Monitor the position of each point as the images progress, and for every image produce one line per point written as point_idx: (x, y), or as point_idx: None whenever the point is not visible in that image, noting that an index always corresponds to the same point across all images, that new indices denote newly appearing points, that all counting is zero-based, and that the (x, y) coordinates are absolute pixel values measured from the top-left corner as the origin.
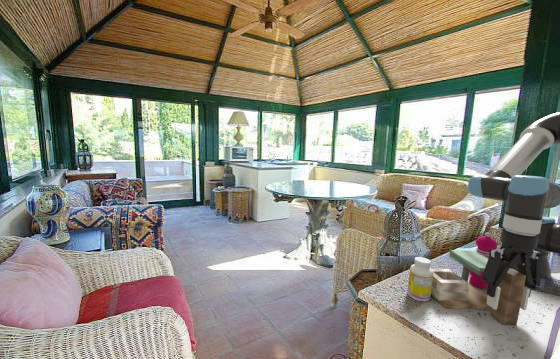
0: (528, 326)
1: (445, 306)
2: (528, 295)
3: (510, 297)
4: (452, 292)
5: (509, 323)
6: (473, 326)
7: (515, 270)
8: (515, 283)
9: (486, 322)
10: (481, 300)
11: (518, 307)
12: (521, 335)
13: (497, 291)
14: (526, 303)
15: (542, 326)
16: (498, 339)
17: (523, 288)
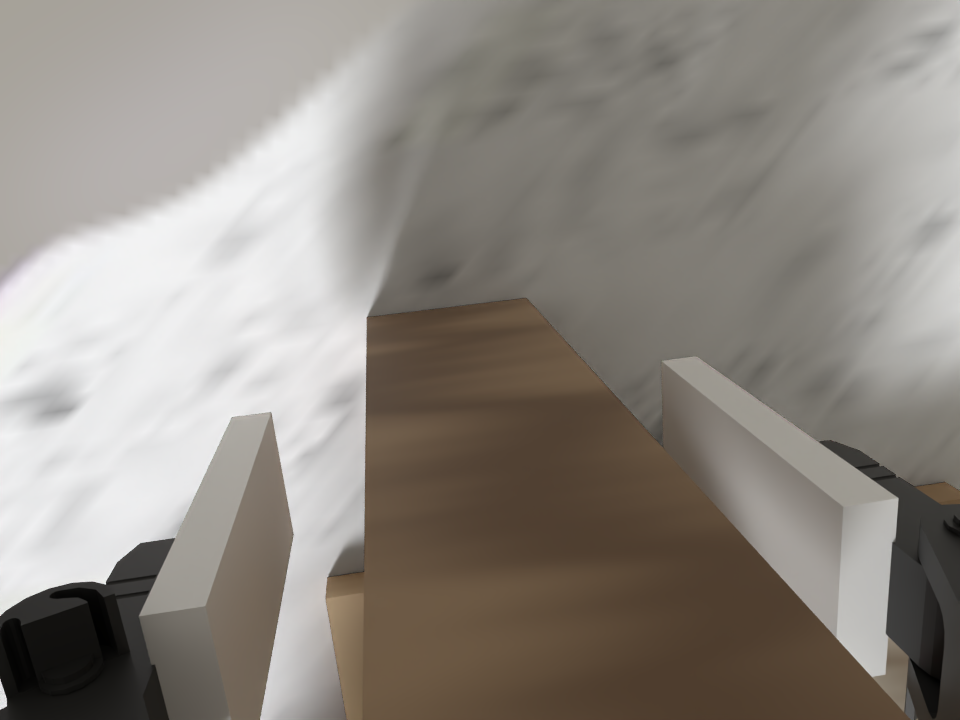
0: (237, 313)
1: (957, 491)
2: (187, 530)
3: (592, 420)
4: (905, 656)
5: (456, 311)
6: (875, 226)
7: None
8: (635, 589)
9: (682, 314)
10: None
11: (389, 385)
12: (455, 141)
13: (850, 469)
14: (228, 456)
15: (53, 338)
16: (773, 44)
17: (369, 552)
